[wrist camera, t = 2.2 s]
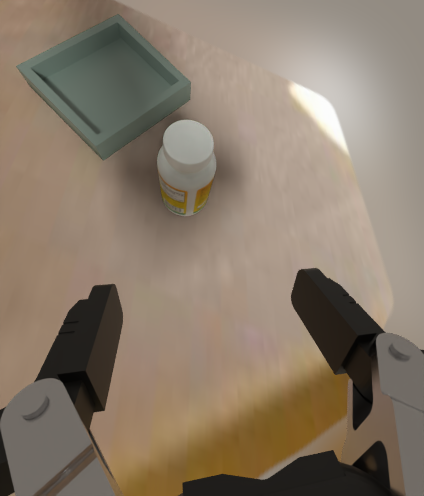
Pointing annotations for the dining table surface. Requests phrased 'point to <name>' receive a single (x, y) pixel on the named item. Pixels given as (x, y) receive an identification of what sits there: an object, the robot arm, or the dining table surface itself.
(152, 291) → the dining table surface
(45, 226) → the dining table surface
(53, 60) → the tray
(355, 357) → the robot arm
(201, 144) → the supplement bottle
